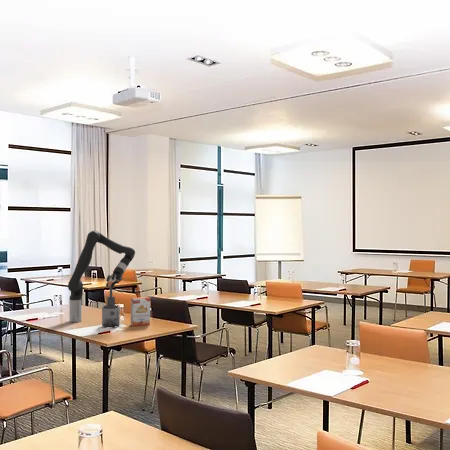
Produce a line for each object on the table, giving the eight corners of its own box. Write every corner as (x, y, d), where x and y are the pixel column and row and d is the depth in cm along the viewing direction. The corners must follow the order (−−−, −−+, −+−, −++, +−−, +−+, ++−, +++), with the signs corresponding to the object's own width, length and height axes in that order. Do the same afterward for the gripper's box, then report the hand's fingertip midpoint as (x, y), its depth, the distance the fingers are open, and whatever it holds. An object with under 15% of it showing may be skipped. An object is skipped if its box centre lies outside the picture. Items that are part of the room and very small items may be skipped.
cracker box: (132, 326, 400) (132, 298, 401) (130, 325, 406) (130, 297, 406) (150, 324, 407) (150, 297, 407) (147, 323, 412) (147, 296, 412)
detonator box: (101, 325, 406) (101, 296, 406) (118, 324, 410) (118, 295, 410) (103, 329, 389) (103, 299, 390) (121, 328, 394) (121, 298, 394)
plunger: (107, 297, 403) (107, 281, 404) (113, 297, 405) (113, 281, 405) (108, 298, 399) (108, 282, 399) (114, 297, 401) (114, 282, 401)
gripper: (110, 266, 412) (99, 282, 402) (124, 266, 405) (113, 283, 395) (115, 272, 417) (104, 289, 406) (129, 273, 410) (118, 290, 399)
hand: (109, 286), depth 401 cm, fingers closed on plunger, 4 cm apart
